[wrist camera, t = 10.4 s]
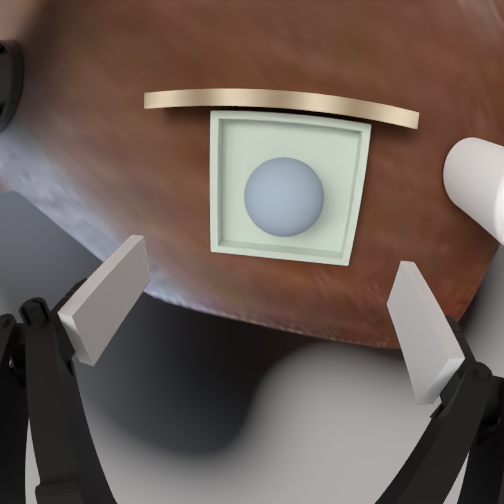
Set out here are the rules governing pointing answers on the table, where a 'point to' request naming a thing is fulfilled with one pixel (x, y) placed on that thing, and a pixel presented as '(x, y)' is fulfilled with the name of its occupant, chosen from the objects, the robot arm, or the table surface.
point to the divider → (282, 103)
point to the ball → (284, 197)
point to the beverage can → (477, 182)
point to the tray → (292, 146)
